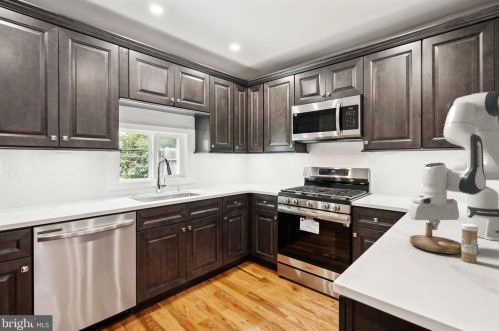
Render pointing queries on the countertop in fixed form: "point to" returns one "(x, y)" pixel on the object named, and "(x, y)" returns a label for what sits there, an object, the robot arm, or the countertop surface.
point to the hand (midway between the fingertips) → (434, 229)
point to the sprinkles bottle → (469, 243)
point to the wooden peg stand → (435, 242)
